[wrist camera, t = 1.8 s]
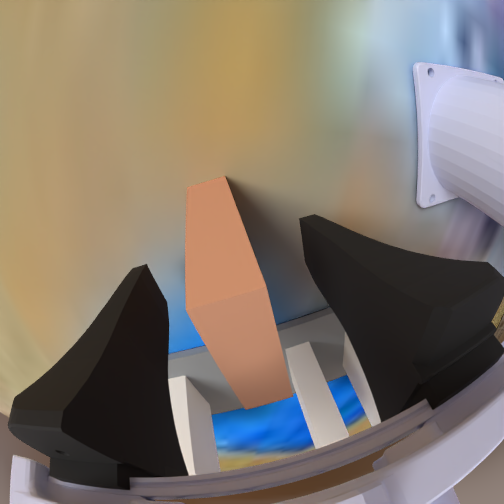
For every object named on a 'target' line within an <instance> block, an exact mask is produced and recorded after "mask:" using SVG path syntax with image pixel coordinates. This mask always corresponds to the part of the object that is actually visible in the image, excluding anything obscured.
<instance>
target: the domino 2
mask: <svg viewBox="0 0 504 504" xmlns="http://www.w3.org/2000/svg"><path fill="white" fill-rule="evenodd" d="M185 289H186V311H187V313H188V315H189V317H190V318H191V320H192V322H193V324H194V326H195V327H196V329H197V331H198V333H199V335H200V336H201V338H202V340H203V342H204V343H205V345H206V347H207V349H208V350H209V352H210V354H211V355H212V357H213V359H214V360H215V362H216V364H217V365H218V367H219V369H220V370H221V372H222V374H223V375H224V377H225V378H226V380H227V382H228V383H229V385H230V386H231V388H232V390H233V391H234V393H235V394H236V396H237V397H238V399H239V400H240V402H241V403H242V405H243V406H244V408H245V409H246V410H247V409H251V408H255V407H258V406H262V405H266V404H269V403H273V402H276V401H280V400H283V399H286V398H290V397H293V393H292V389H291V385H290V381H289V377H288V372H287V368H286V364H285V360H284V356H283V352H282V348H281V344H280V340H279V336H278V331H277V327H276V323H275V319H274V315H273V311H272V307H271V303H270V299H269V295H268V291H267V287H266V284H265V281H264V279H263V276H262V273H261V271H260V268H259V265H258V263H257V260H256V257H255V255H254V252H253V249H252V247H251V244H250V241H249V239H248V236H247V233H246V231H245V228H244V225H243V223H242V220H241V217H240V215H239V212H238V209H237V207H236V204H235V201H234V199H233V196H232V193H231V191H230V188H229V185H228V183H227V180H226V177H225V176H223V177H220V178H216V179H213V180H210V181H206V182H203V183H200V184H197V185H193V186H190V187H187V203H186V240H185Z"/></svg>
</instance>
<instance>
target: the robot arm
mask: <svg viewBox="0 0 504 504" xmlns="http://www.w3.org/2000/svg"><path fill="white" fill-rule="evenodd" d="M428 70H429V75H428ZM413 76H414V85H415V94H416V106H417V124H418V181H417V199H416V200H417V204H418V205H419V206H420V207H422V208H427V207H430V206H433V205H436V204H439V203H442V202H445V201H449V200H452V199H455V198H458V197H461V198H462V199H464V200H466V201H467V202H469V203H470V204H472V205H473V206H475V207H476V208H478V209H479V210H481V211H482V212H484V213H485V214H486V215H488V216H489V217H491V218H492V219H493V220H495V221H496V222H498V223H499V224H500V225H502V226H503V227H504V81H503V79H502V78H500V77H496V76H492V75H489V74H485V73H481V72H476V71H472V70H467V69H462V68H457V67H451V66H445V65H439V64H431V63H423V62H417V63H415V64H414V66H413ZM430 196H431V197H430ZM299 220H300V227H301V234H302V242H303V249H304V257H305V263H306V265H307V267H308V269H309V271H310V273H311V275H312V278H313V280H314V282H315V283H316V285H317V287H318V288H319V290H320V291H321V293H322V294H323V296H324V298H325V299H326V301H327V302H328V304H329V305H330V307H331V308H332V310H333V312H334V313H335V315H336V316H337V318H338V320H339V321H340V323H341V324H342V326H343V328H344V330H345V332H346V334H347V336H348V338H349V340H350V342H351V344H352V347H353V349H354V351H355V353H356V355H357V358H358V360H359V362H360V365H361V367H362V370H363V372H364V375H365V377H366V380H367V382H368V385H369V388H370V390H371V393H372V396H373V399H374V402H375V405H376V408H377V411H378V414H379V417H380V420H381V423H379V424H377V425H375V426H373V427H371V428H369V429H366V430H364V431H362V432H360V433H357V434H355V435H352V436H350V437H348V438H345V439H343V440H340V441H337V442H335V443H332V444H329V445H326V446H324V447H321V448H318V449H315V450H312V451H309V452H306V453H302V454H299V455H296V456H292V457H289V458H285V459H281V460H278V461H274V462H269V463H265V464H261V465H256V466H252V467H247V468H241V469H236V470H230V471H224V472H217V473H210V474H201V475H191V476H189V474H188V471H187V468H186V465H185V462H184V458H183V455H182V452H181V448H180V444H179V440H178V436H177V432H176V427H175V423H174V417H173V412H172V406H171V399H170V391H169V383H168V349H169V316H168V306H167V301H166V299H165V298H164V296H163V294H162V292H161V290H160V289H159V287H158V285H157V283H156V281H155V279H154V278H153V276H152V274H151V272H150V270H149V268H148V266H147V264H145V265H142V266H139V267H136V268H133V269H132V270H131V271H130V272H129V273H128V274H127V276H126V277H125V278H124V280H123V281H122V283H121V284H120V285H119V287H118V288H117V290H116V291H115V292H114V294H113V295H112V297H111V298H110V299H109V301H108V302H107V304H106V305H105V306H104V308H103V309H102V310H101V312H100V313H99V314H98V316H97V317H96V319H95V320H94V321H93V323H92V324H91V325H90V327H89V328H88V329H87V330H86V332H85V333H84V334H83V335H82V336H81V337H80V339H79V340H78V341H77V342H76V343H75V344H74V346H73V347H72V348H71V349H70V350H69V351H68V352H67V353H66V354H65V355H64V356H63V357H62V358H61V359H60V360H59V361H58V362H57V363H56V364H55V365H54V366H53V367H52V368H51V369H50V370H49V371H47V372H46V373H45V374H44V375H43V376H42V377H41V378H39V379H38V380H37V381H36V382H35V383H33V384H32V385H31V386H29V387H28V388H27V389H25V390H24V391H23V392H21V393H20V394H19V395H17V396H16V397H15V398H14V401H13V404H12V408H11V413H10V417H9V422H8V428H9V430H10V431H11V433H12V434H13V435H14V436H16V437H17V438H18V439H19V440H21V441H22V442H24V443H26V444H27V445H29V446H31V447H32V448H34V449H36V450H38V451H40V452H41V453H43V454H45V455H47V456H49V457H50V468H47V467H46V466H45V465H43V464H41V463H39V462H36V461H34V460H32V459H29V458H25V457H21V456H18V455H13V461H12V470H11V485H10V504H185V503H181V502H161V501H155V500H153V499H192V498H206V497H216V496H224V495H232V494H239V493H244V492H250V491H256V490H261V489H265V488H270V487H275V486H279V485H283V484H287V483H291V482H295V481H298V480H301V479H305V478H308V477H311V476H315V475H318V474H321V473H324V472H327V471H329V470H333V469H335V468H338V467H340V466H343V465H346V464H348V463H351V462H353V461H356V460H358V459H360V458H363V457H365V456H367V455H370V454H372V453H374V452H376V451H378V450H380V449H383V448H385V447H386V446H389V445H390V444H393V443H395V442H396V441H398V440H400V439H402V438H404V437H406V436H408V435H409V434H411V433H413V432H414V433H413V434H411V435H410V436H408V437H407V438H405V439H404V440H402V441H400V442H399V443H397V444H395V445H394V446H392V447H390V448H389V449H387V450H385V452H384V455H383V456H382V457H381V458H379V459H378V460H377V461H375V462H374V463H373V468H374V470H375V471H374V472H372V473H369V474H367V475H365V476H362V477H359V478H357V479H354V480H352V481H349V482H346V483H344V484H341V485H338V486H335V487H332V488H330V489H326V490H323V491H320V492H317V493H313V494H310V495H306V496H303V497H299V498H295V499H291V500H287V501H283V502H278V503H274V504H460V502H459V500H458V498H457V495H456V493H455V491H454V489H453V486H454V485H455V484H457V483H458V482H459V481H460V480H462V479H463V478H464V477H465V476H466V475H467V474H468V473H470V472H471V471H472V470H473V469H474V468H475V467H476V466H477V465H479V464H480V463H481V462H482V461H483V460H484V459H485V458H486V457H487V456H488V455H489V454H490V453H491V452H492V451H493V450H494V449H495V448H496V447H497V446H498V445H499V444H500V443H501V441H502V440H503V439H504V341H503V342H502V343H500V342H499V341H498V339H497V338H496V337H495V336H494V334H495V332H496V331H497V330H496V327H495V326H494V325H493V323H492V322H491V321H492V319H493V317H494V316H495V314H496V312H497V310H498V308H499V306H500V304H501V302H502V299H503V297H504V277H503V276H502V275H501V274H500V273H499V272H498V271H497V270H496V269H495V268H494V267H493V266H492V265H491V264H489V263H488V262H476V261H461V260H453V259H446V258H439V257H434V256H428V255H424V254H420V253H415V252H411V251H407V250H403V249H400V248H397V247H394V246H390V245H387V244H384V243H381V242H378V241H376V240H373V239H371V238H368V237H366V236H363V235H361V234H358V233H356V232H354V231H351V230H349V229H347V228H345V227H342V226H340V225H338V224H336V223H334V222H331V221H329V220H327V219H325V218H323V217H320V216H318V215H315V214H314V215H310V216H307V217H303V218H299ZM418 429H419V430H418ZM416 430H417V431H416ZM415 431H416V432H415Z"/></svg>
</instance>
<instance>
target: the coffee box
mask: <svg viewBox="0 0 504 504" xmlns="http://www.w3.org/2000/svg"><path fill="white" fill-rule="evenodd" d="M494 336H495V337H496V338H497V339H498V341H499V342H500V343H502V342H503V341H504V315H503V318H502V320H501V322H500V324H499V326H498V328H497V331H496V332H495V334H494Z"/></svg>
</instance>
